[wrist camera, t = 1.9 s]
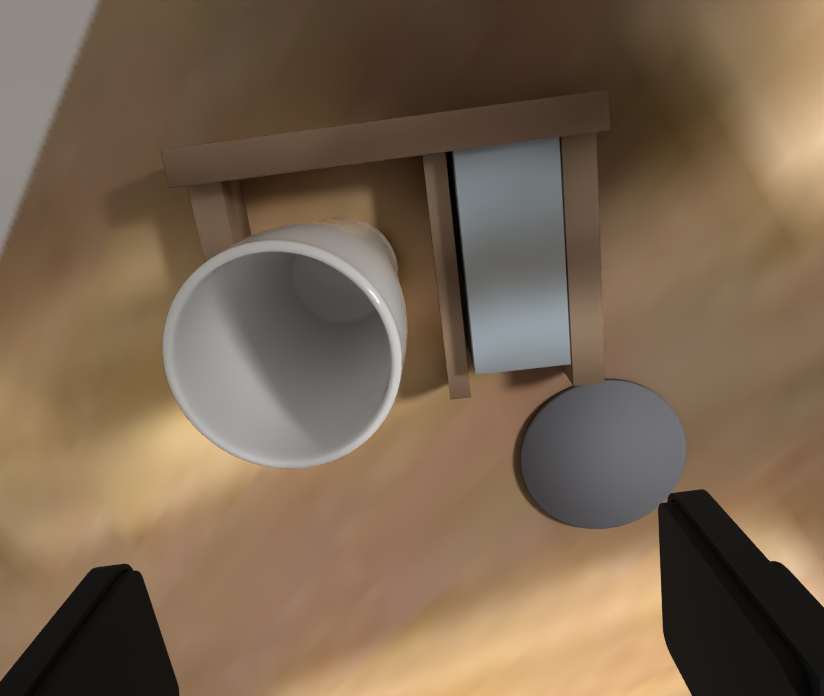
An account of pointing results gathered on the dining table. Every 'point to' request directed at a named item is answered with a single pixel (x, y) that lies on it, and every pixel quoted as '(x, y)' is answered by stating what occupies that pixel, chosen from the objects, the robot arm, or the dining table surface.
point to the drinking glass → (290, 342)
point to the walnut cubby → (462, 219)
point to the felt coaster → (603, 454)
